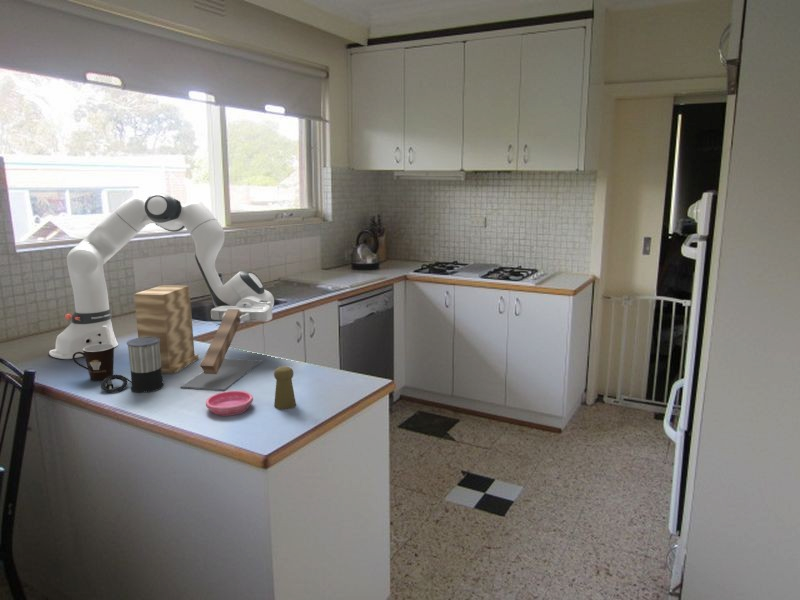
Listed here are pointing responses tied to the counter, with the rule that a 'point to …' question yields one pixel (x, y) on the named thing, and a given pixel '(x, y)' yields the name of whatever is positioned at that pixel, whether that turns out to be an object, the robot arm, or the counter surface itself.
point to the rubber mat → (222, 375)
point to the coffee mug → (98, 360)
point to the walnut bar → (221, 342)
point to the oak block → (167, 324)
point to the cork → (284, 388)
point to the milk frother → (140, 367)
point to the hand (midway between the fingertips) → (231, 319)
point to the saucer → (229, 402)
